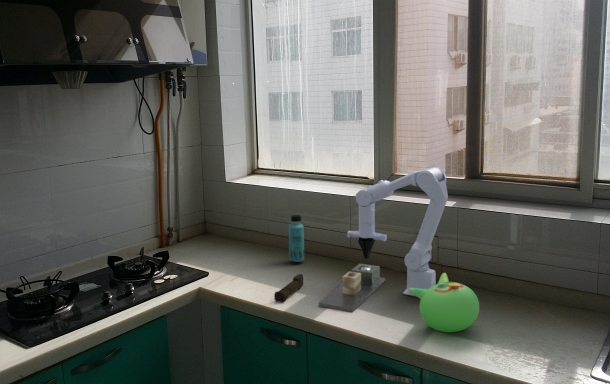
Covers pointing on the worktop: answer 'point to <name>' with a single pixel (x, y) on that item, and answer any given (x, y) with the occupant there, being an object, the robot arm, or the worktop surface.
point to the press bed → (351, 302)
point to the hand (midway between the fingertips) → (366, 257)
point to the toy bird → (447, 305)
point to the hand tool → (289, 288)
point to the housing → (351, 283)
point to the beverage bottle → (296, 240)
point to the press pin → (366, 268)
